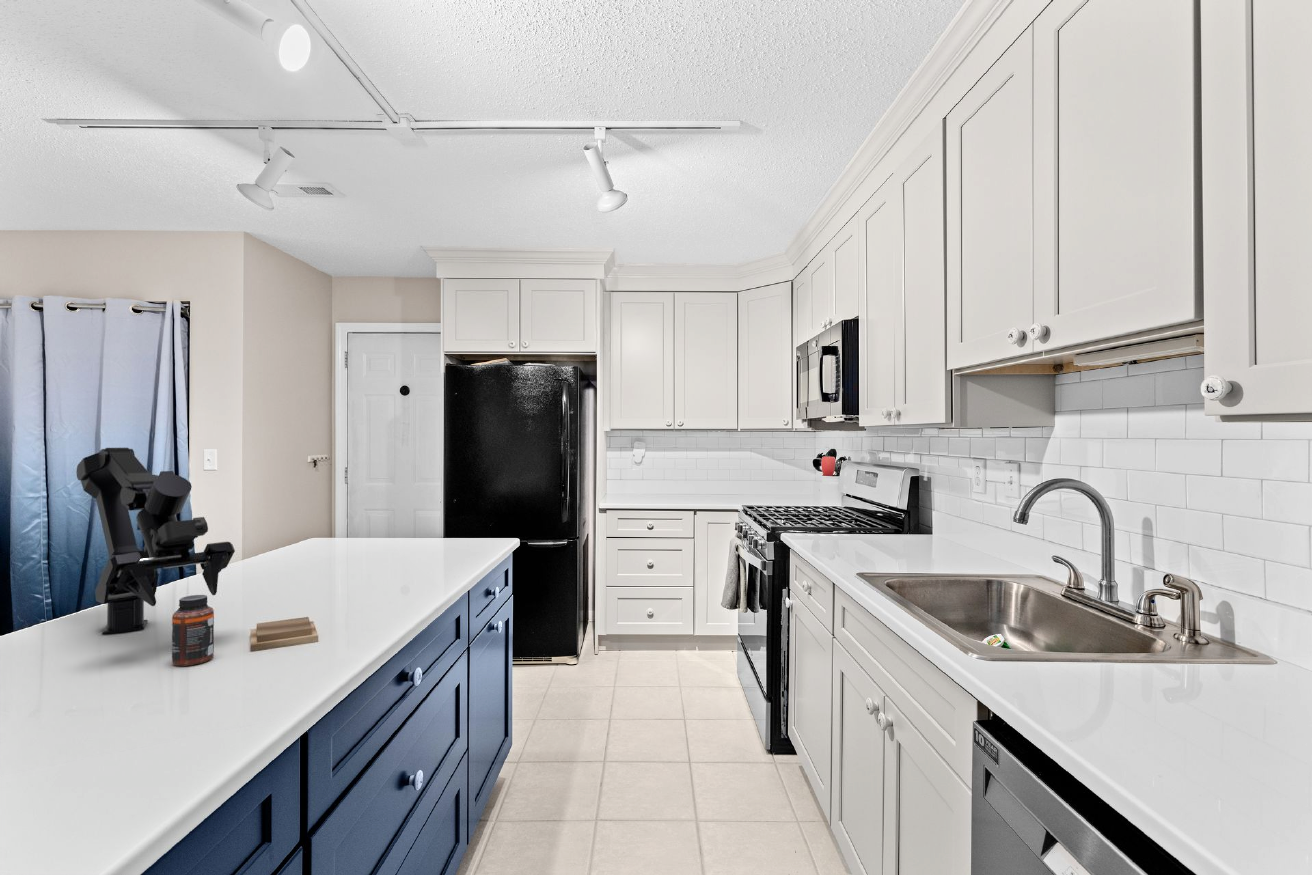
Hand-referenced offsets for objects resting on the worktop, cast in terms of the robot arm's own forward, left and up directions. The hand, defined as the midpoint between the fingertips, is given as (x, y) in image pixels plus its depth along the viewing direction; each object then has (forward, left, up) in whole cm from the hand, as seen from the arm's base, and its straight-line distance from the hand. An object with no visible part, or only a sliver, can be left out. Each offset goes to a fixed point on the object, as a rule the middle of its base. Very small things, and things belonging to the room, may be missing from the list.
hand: (185, 599), depth 112 cm
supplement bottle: (+3, +1, -11) cm, 11 cm away
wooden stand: (-3, +15, -10) cm, 19 cm away
